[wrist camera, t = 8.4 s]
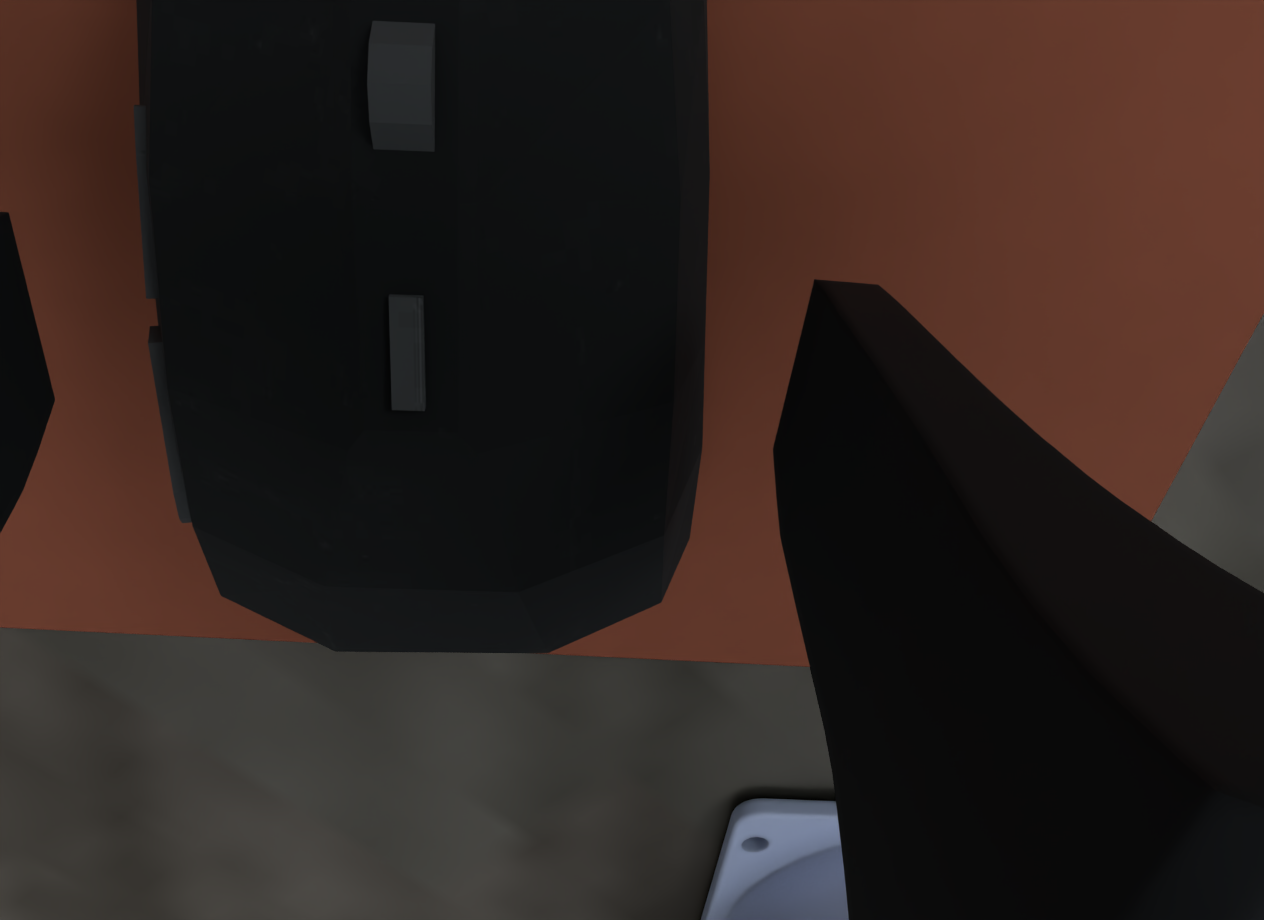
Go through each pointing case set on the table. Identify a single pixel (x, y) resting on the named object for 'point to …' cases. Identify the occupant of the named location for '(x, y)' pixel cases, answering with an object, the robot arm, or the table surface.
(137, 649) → the table surface
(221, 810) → the table surface
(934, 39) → the mouse mat
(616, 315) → the gaming mouse
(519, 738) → the table surface
